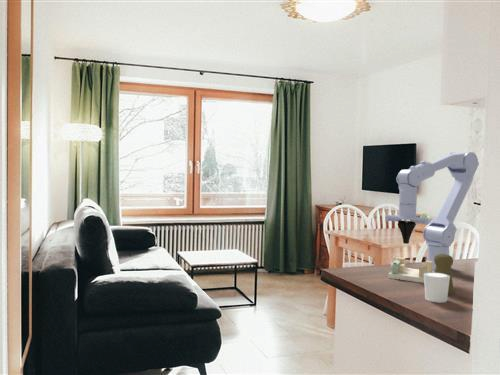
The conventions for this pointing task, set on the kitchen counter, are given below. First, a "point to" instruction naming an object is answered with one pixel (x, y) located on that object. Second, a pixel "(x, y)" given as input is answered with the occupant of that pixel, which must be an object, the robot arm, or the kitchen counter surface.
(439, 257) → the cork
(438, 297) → the shot glass
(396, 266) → the hinged leg
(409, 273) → the stool seat
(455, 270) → the kitchen counter surface
